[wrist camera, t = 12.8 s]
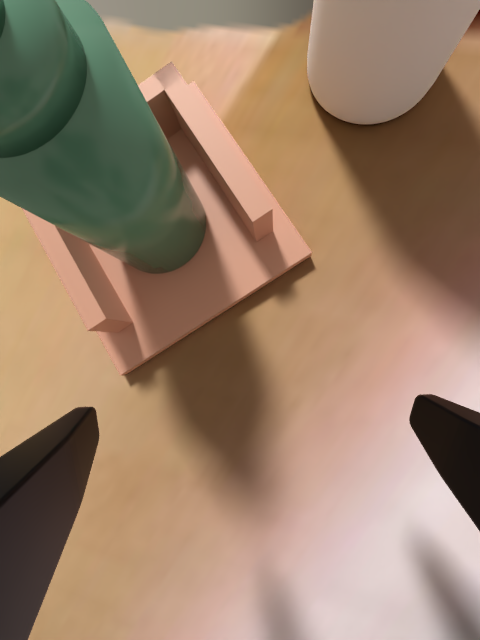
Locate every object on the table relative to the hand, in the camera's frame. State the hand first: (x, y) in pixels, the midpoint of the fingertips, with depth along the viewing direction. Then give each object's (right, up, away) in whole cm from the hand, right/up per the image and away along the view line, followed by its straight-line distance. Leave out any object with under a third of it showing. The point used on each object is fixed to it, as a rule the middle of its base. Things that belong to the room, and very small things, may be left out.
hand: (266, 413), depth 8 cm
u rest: (-6, +9, +12) cm, 16 cm away
